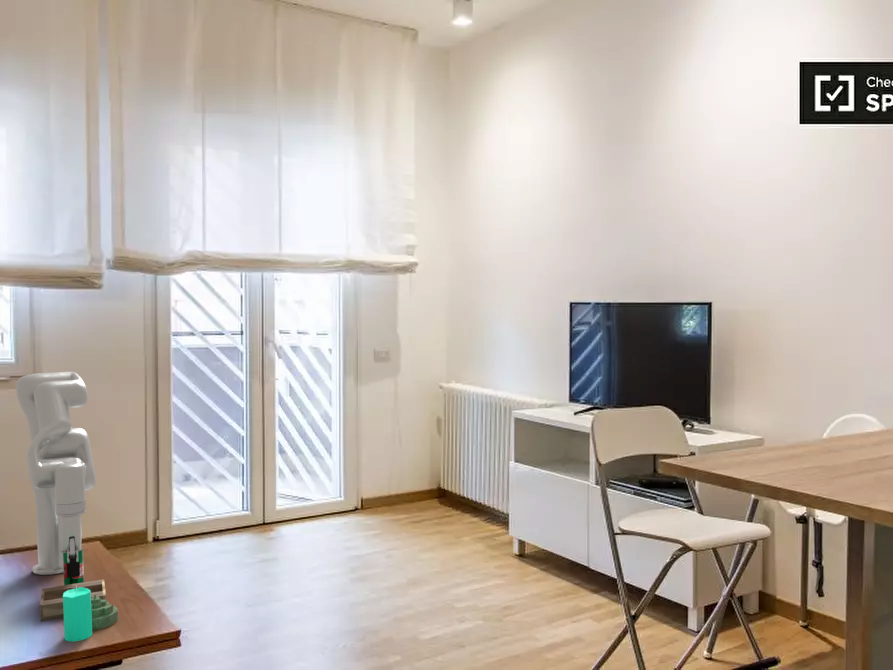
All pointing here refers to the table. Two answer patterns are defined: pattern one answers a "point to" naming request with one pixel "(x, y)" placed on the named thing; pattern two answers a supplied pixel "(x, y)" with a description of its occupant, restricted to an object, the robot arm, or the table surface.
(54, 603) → the open cardboard box
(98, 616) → the decorative artifact
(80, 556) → the soda can
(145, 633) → the table surface
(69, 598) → the candle
